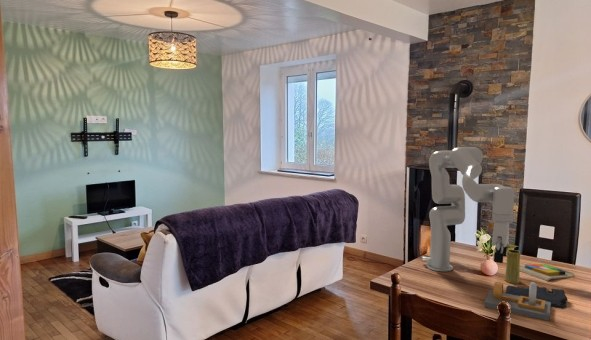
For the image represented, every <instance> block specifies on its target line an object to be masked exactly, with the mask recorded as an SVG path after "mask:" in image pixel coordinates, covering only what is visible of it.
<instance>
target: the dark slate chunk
mask: <svg viewBox="0 0 591 340" xmlns="http://www.w3.org/2000/svg"><path fill="white" fill-rule="evenodd" d="M529 288H530V287H524V286H523V287H521V286H515V285H510V284H508V285H506V288H505V291H506V292H505V293H506V294H511V295H516V296H525V297H529ZM536 299H540V300H545V301H547V302H551V307H550V308H556V309H561V310H563V309H568V307H567V305H566V304H567V301H568V297H567V296H566V292H565V290H564V289H559V288H558V289H557V288H551V290H549V289H547V287H544V286H543V287H541V286H538V285H537V291H536Z"/></svg>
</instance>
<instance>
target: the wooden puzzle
mask: <svg viewBox="0 0 591 340" xmlns="http://www.w3.org/2000/svg"><path fill="white" fill-rule="evenodd" d="M520 273H523V274H526V275H529V276H530V277H534V278H537V279H539V280H542V281H545V282H549V281H550V280H555V279H556V280H559V279H567V278H568V279H569V278H573V277H574V276H575V273H574V272H572V271H569V270H566V269H563V268H560V267H557V266H554V265H550V264H547V263H543V262H542V263H536V264H525V265H520Z"/></svg>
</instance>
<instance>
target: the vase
mask: <svg viewBox="0 0 591 340" xmlns="http://www.w3.org/2000/svg"><path fill="white" fill-rule="evenodd" d="M520 261H521V251H520V250H516V249H507V251H506V263H505V264H506V265H505V278H504V281H505V282H507V283H509V284H519V283H520V282H521V281H520V280H521V279H520V274H521V272H520V266H521V264H520V263H521V262H520Z"/></svg>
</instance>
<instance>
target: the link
mask: <svg viewBox="0 0 591 340" xmlns="http://www.w3.org/2000/svg"><path fill="white" fill-rule="evenodd" d="M493 291H494V295H493V298H494V299H499V300H502V299H503V300H508V301H512V302H517V303H518V306H519V307H524V308H528V309H533V310H538V311H542V312H544V308H545V300H540V299H536V303H539V304H541V307H539V306H534V305H529V304H524V303H522V302H523V300H525V301H529V297H525V296H520V298H519V299H518V298H513V297H508V296H503V293H504V283H503V282H498V281H495V282H494V283H493Z"/></svg>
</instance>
